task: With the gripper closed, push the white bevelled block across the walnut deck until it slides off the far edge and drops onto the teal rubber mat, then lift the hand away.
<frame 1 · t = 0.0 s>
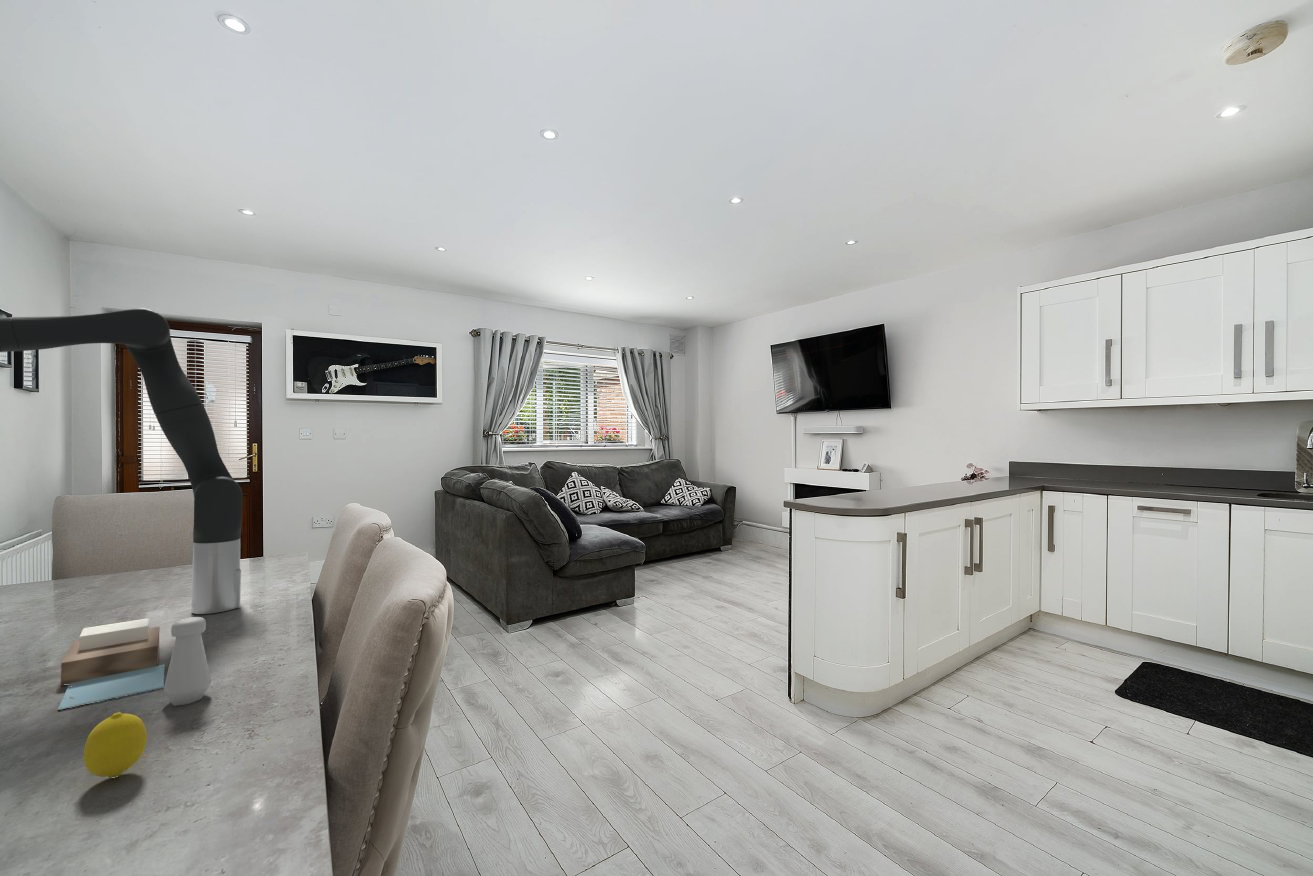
salt shaker: (187, 700, 87), on the table
deck: (114, 664, 100), on the table
mat: (116, 686, 91), on the table
lemon: (115, 779, 66), on the table
white bevelled block: (115, 640, 102), point 4 cm above the table, touching deck
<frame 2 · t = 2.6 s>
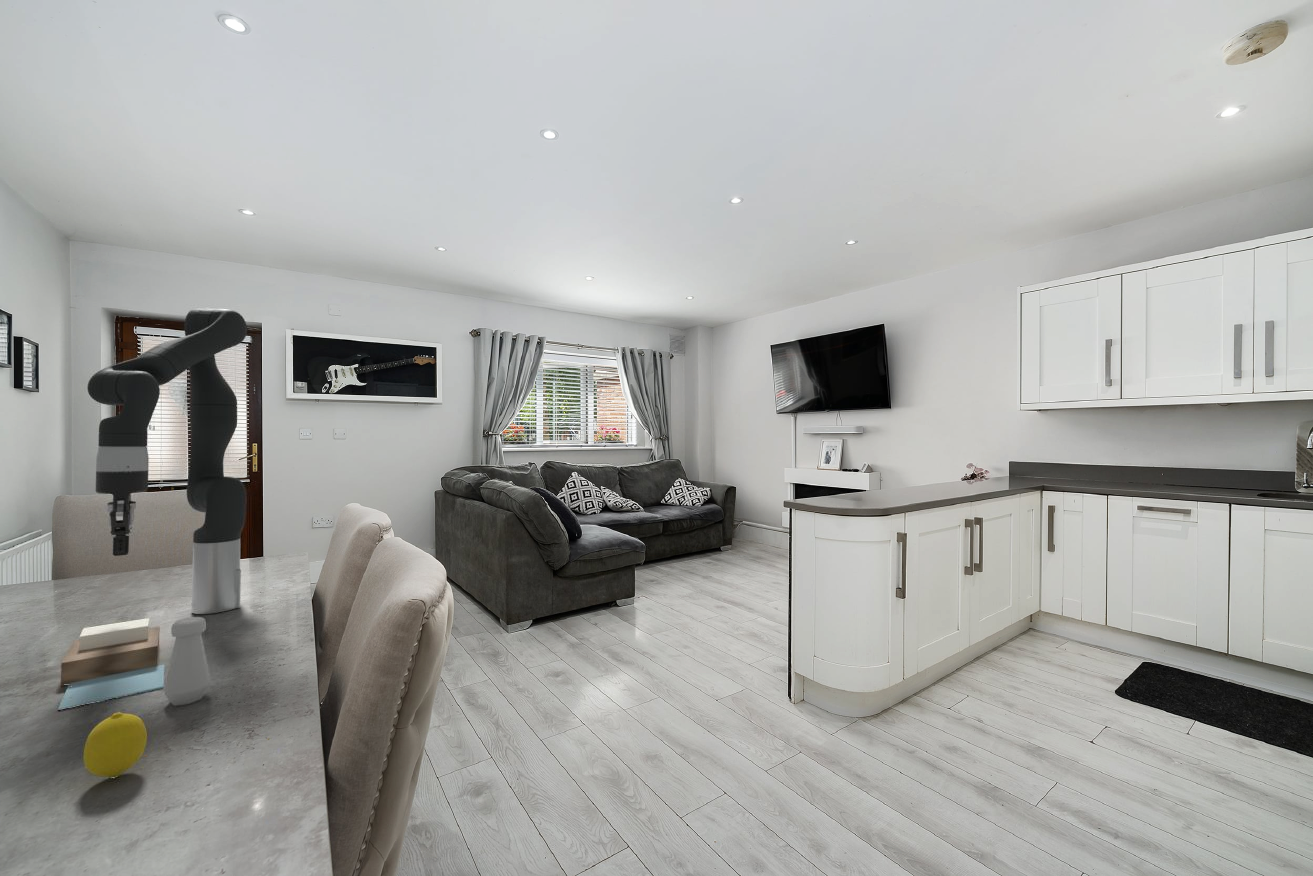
hand: (120, 554, 108), 19 cm above the table, tool pointing down, fingers closed
nothing on the table moved.
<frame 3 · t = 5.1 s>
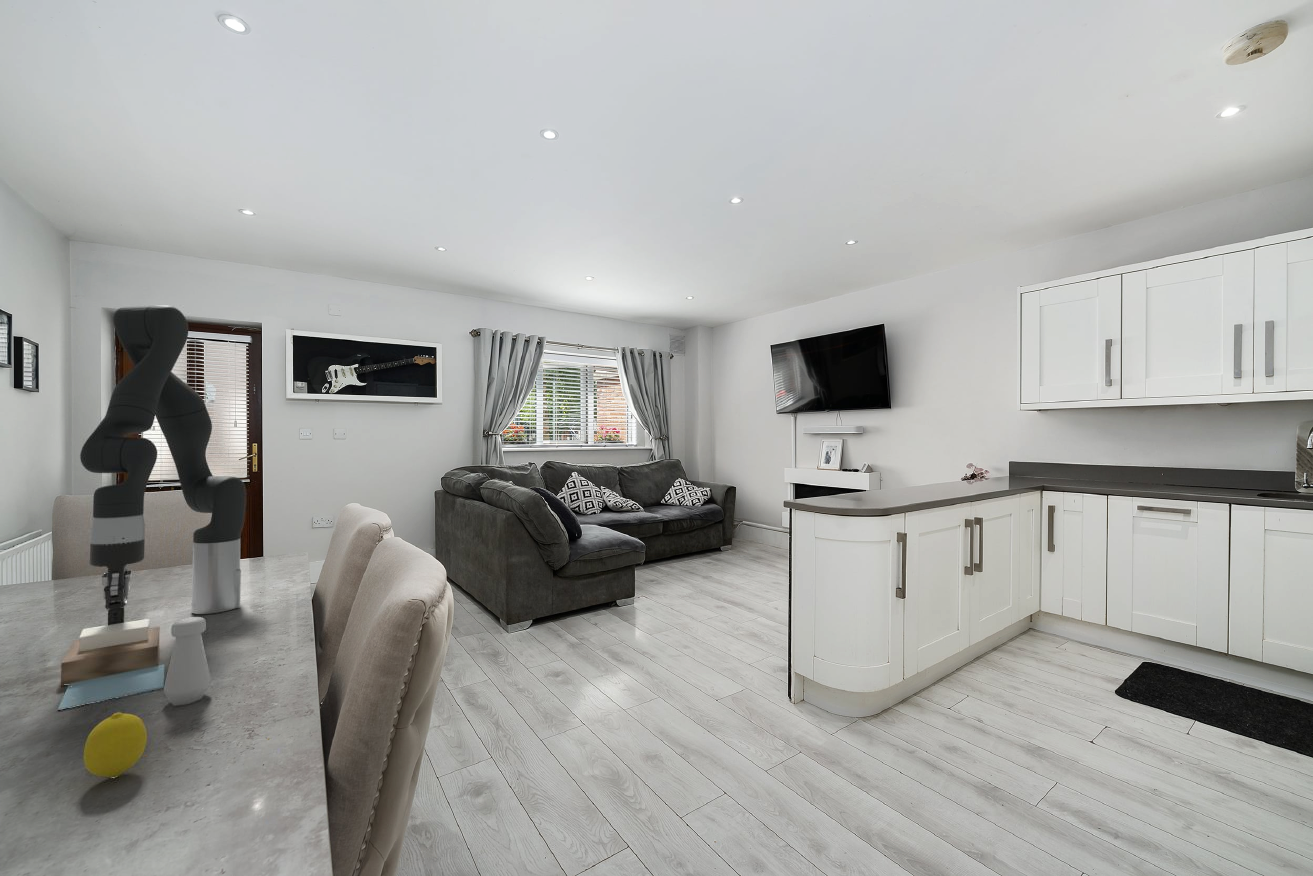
hand: (115, 627, 104), 5 cm above the table, tool pointing down, fingers closed
white bevelled block: (115, 640, 101), point 4 cm above the table, touching gripper
everything else where it was.
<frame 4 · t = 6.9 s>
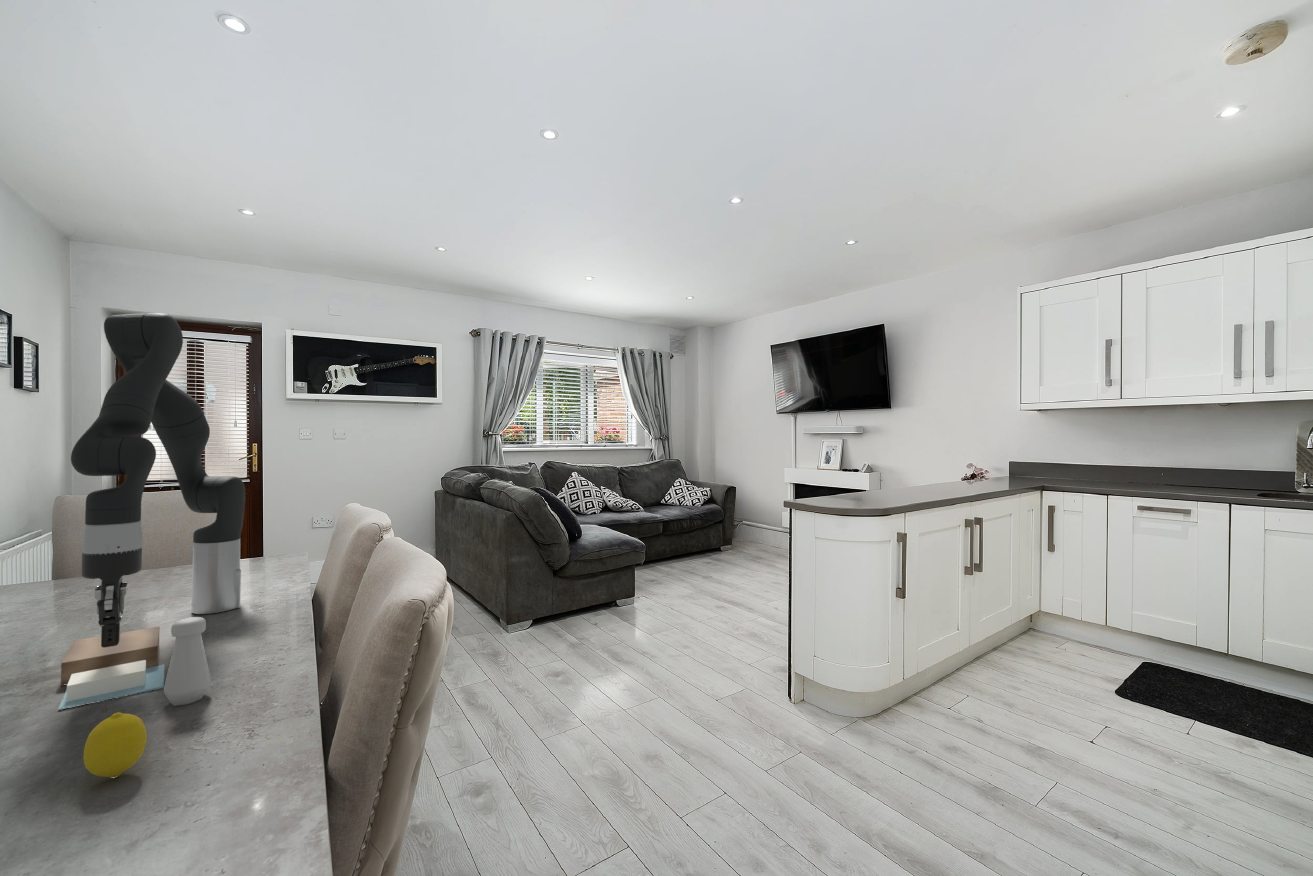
hand: (110, 645, 95), 5 cm above the table, tool pointing down, fingers closed
white bevelled block: (108, 672, 90), point 3 cm above the table, tilted 180°, touching mat
everything else where it was.
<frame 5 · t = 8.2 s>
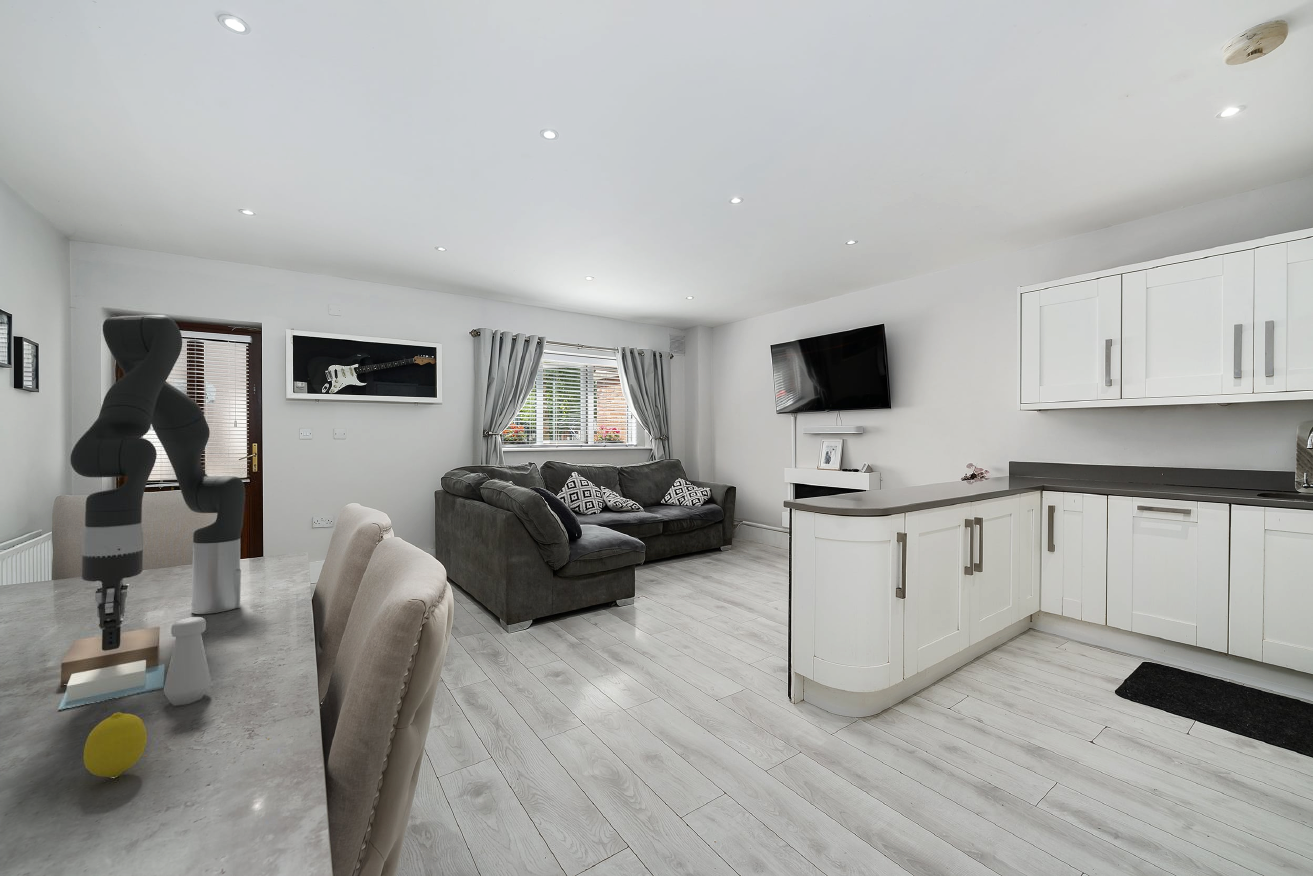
hand: (111, 648, 94), 5 cm above the table, tool pointing down, fingers closed
nothing on the table moved.
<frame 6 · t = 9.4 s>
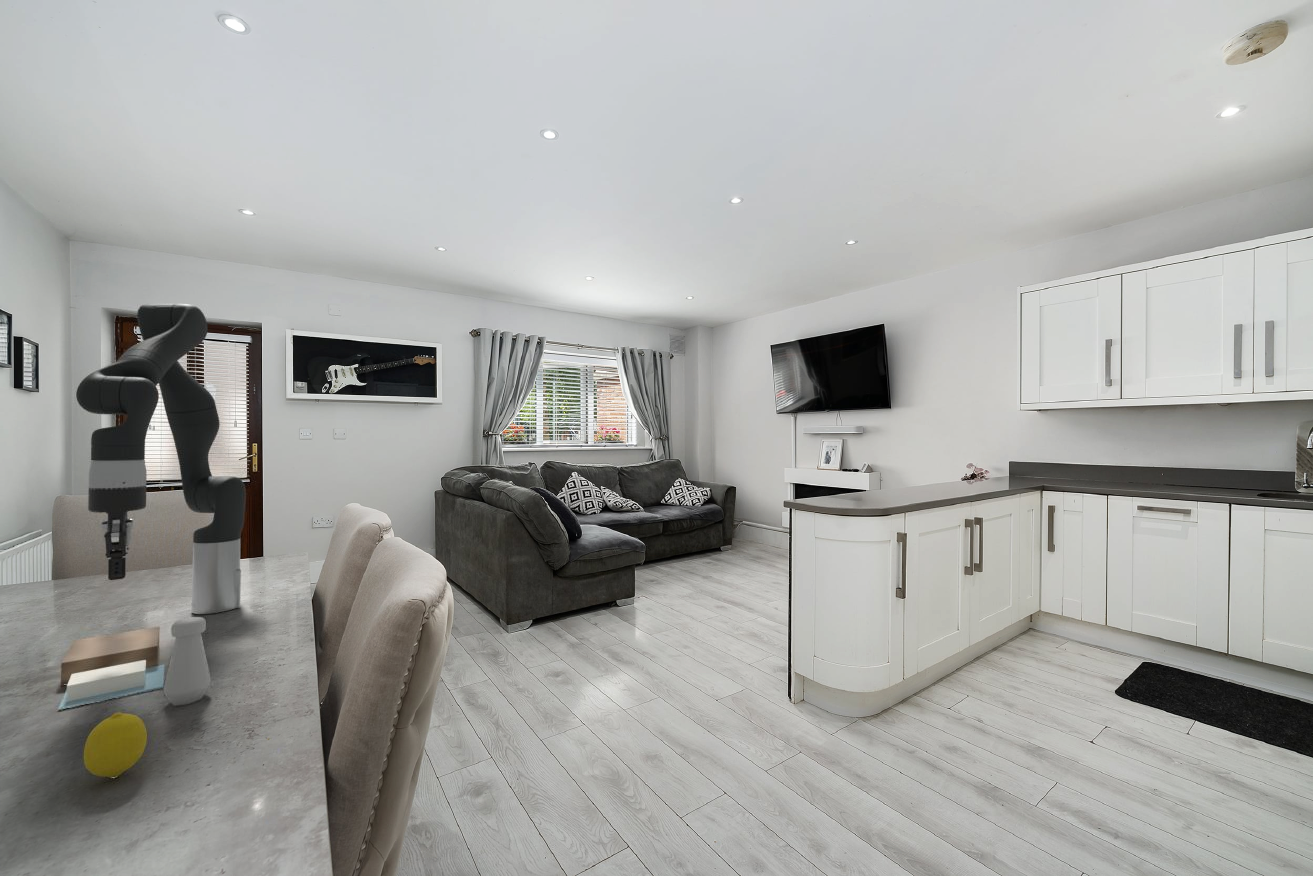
hand: (117, 578, 98), 17 cm above the table, tool pointing down, fingers closed
nothing on the table moved.
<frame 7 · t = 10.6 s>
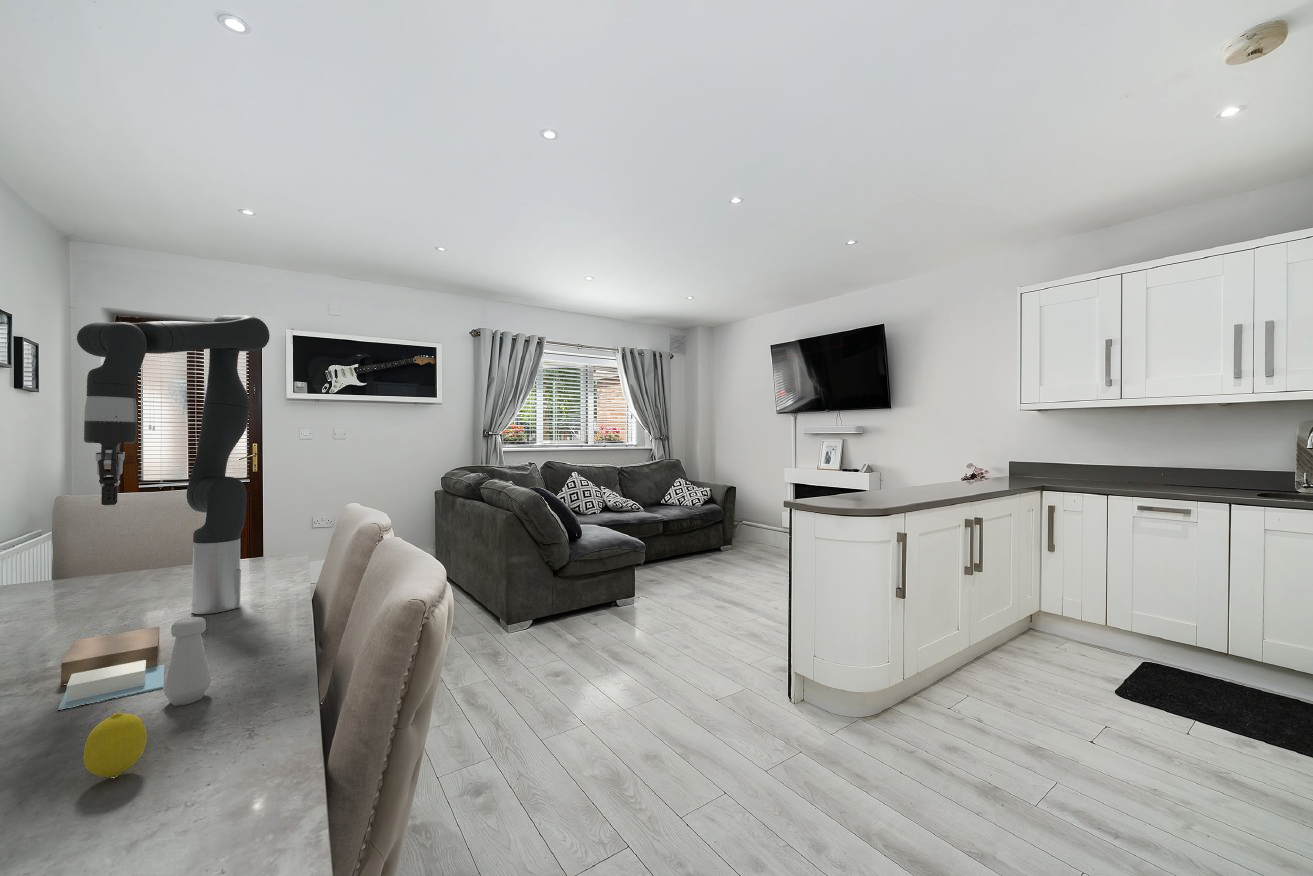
hand: (109, 504, 109), 29 cm above the table, tool pointing down, fingers closed
nothing on the table moved.
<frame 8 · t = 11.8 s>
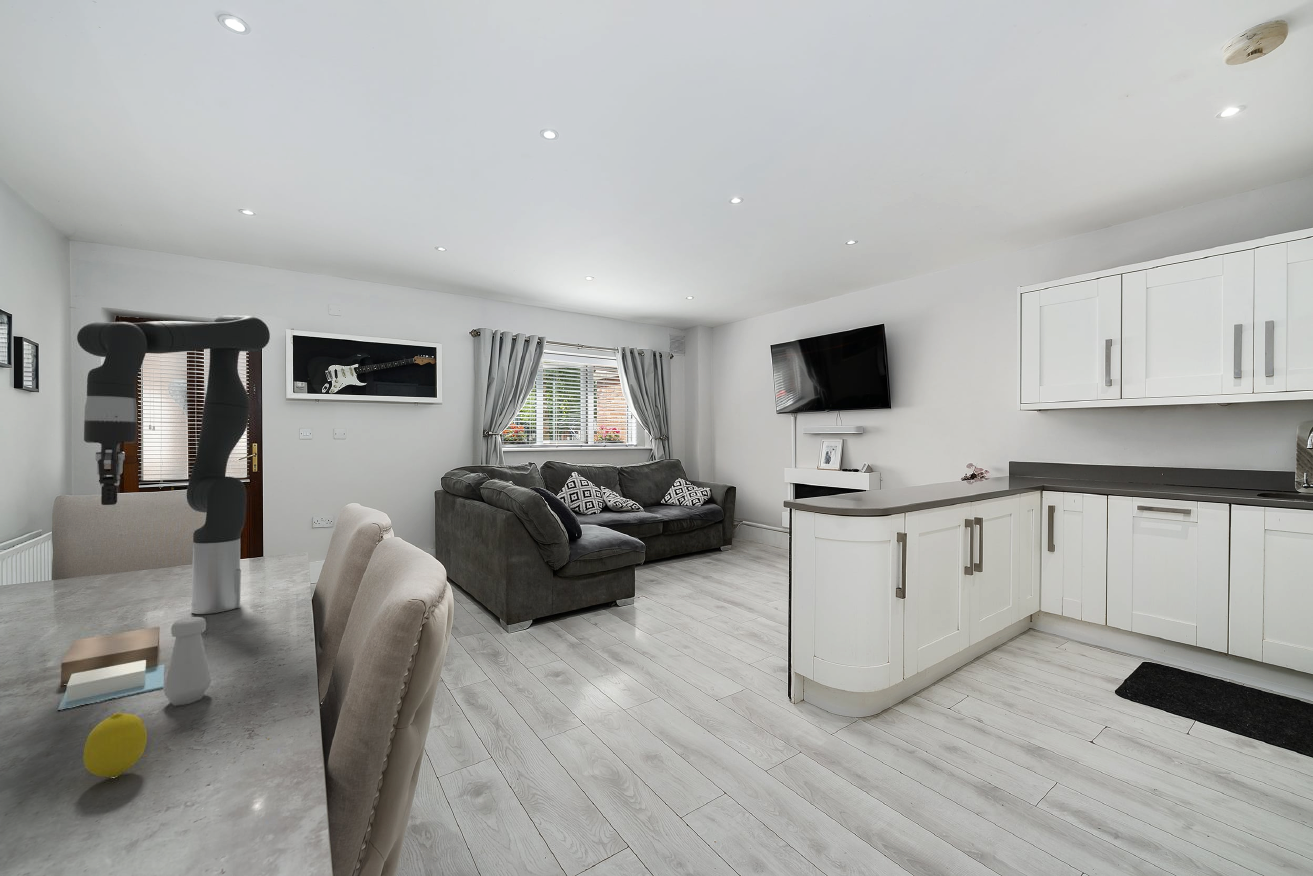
hand: (109, 504, 109), 29 cm above the table, tool pointing down, fingers closed
nothing on the table moved.
at the end: white bevelled block point 2.8 cm above the table; white bevelled block inside the target area on the mat (0.9 cm from its centre), point 2.8 cm above the mat's base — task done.
